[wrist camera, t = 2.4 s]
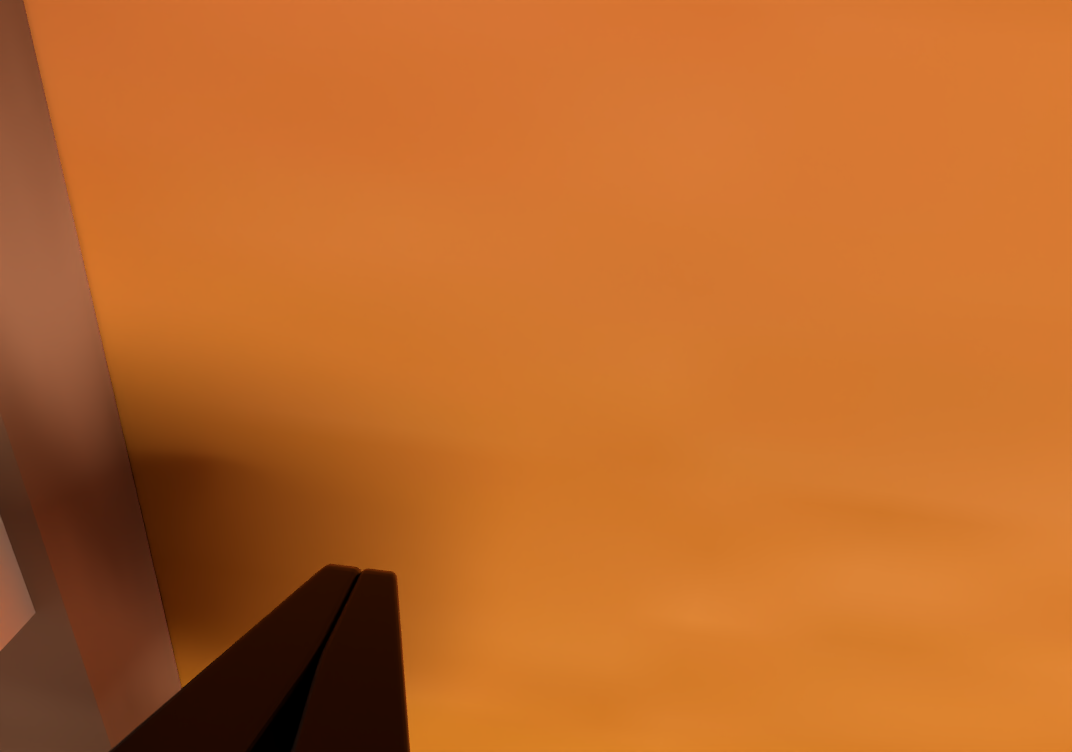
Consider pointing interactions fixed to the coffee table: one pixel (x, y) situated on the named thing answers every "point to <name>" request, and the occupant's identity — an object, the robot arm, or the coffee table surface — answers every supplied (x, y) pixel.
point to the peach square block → (11, 593)
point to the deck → (64, 461)
